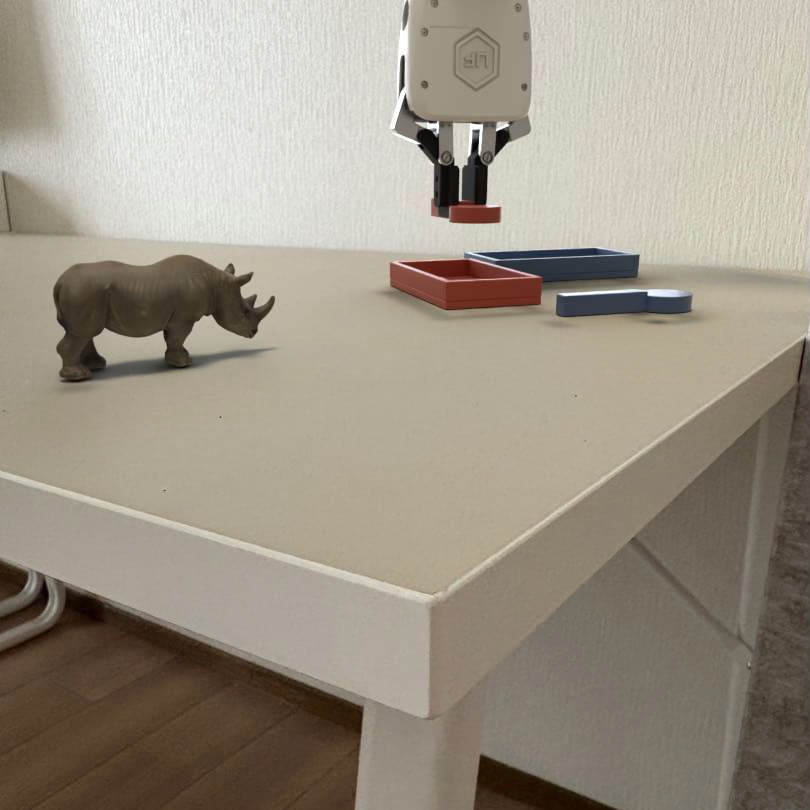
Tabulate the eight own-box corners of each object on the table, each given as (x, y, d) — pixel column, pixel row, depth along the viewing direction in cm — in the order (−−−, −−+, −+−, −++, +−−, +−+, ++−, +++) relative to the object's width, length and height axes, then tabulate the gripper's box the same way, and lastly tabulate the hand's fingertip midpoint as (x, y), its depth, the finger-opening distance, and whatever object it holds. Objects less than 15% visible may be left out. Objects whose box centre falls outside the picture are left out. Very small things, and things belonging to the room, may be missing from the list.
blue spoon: (572, 319, 64) (574, 298, 64) (547, 311, 68) (548, 291, 67) (702, 311, 67) (704, 291, 67) (670, 303, 71) (672, 284, 70)
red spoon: (415, 216, 78) (415, 198, 78) (460, 215, 79) (460, 197, 79) (459, 224, 69) (460, 203, 68) (509, 223, 70) (510, 202, 69)
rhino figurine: (296, 353, 54) (290, 250, 51) (68, 385, 47) (48, 267, 44) (265, 342, 57) (258, 245, 55) (46, 371, 50) (27, 260, 47)
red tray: (389, 285, 82) (389, 261, 81) (471, 281, 84) (472, 258, 83) (445, 309, 69) (446, 281, 68) (541, 304, 71) (542, 277, 70)
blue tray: (596, 267, 94) (598, 247, 93) (638, 276, 86) (640, 254, 86) (463, 273, 89) (463, 252, 89) (495, 284, 82) (496, 260, 81)
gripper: (380, -59, 61) (383, 221, 68) (581, -45, 65) (564, 217, 73) (353, -38, 68) (358, 216, 75) (537, -27, 72) (525, 212, 79)
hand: (459, 215), depth 74 cm, fingers closed on red spoon, 1 cm apart
